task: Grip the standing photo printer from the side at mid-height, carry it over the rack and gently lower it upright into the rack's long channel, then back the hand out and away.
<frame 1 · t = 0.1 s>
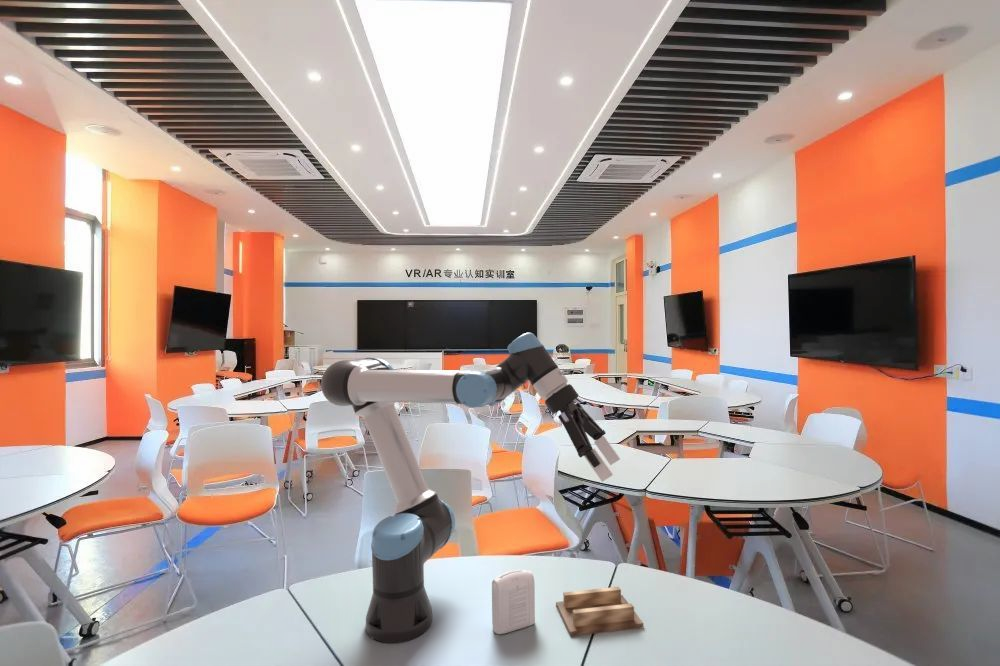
hand: (611, 469, 109), 36 cm above the table, tool tilted 35°, fingers open, 13 cm apart
rack: (597, 616, 114), on the table
photo printer: (514, 627, 111), on the table
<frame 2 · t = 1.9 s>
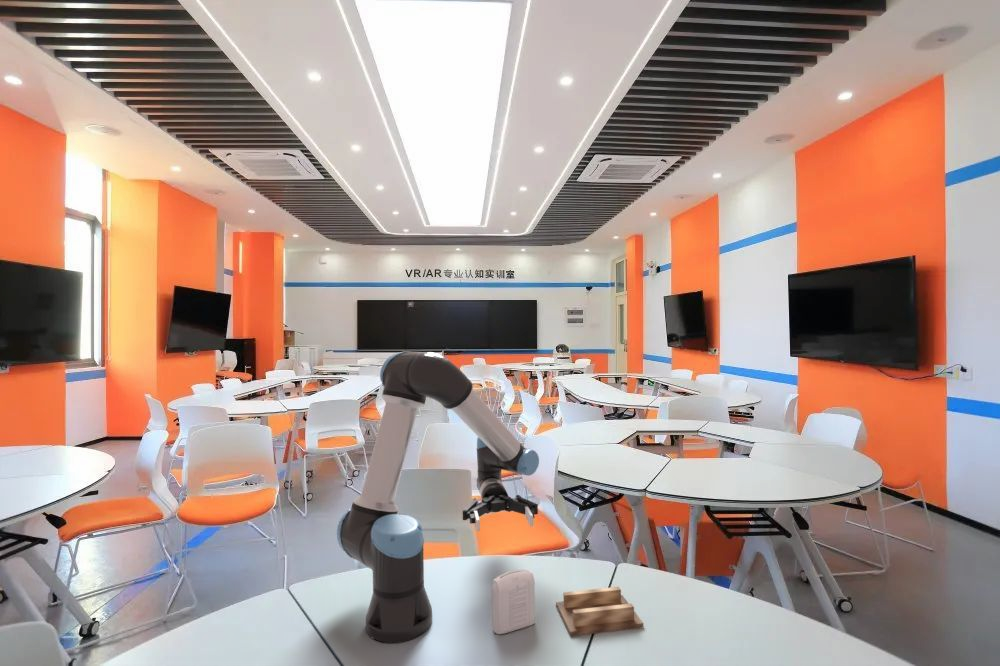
hand: (505, 523, 122), 19 cm above the table, tool horizontal, fingers open, 13 cm apart
nothing on the table moved.
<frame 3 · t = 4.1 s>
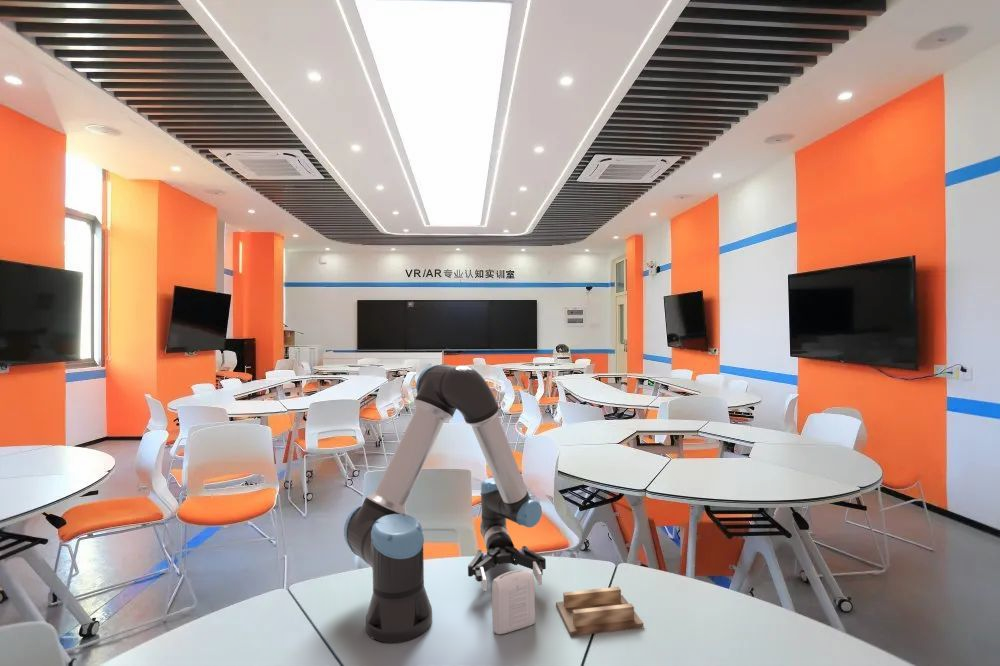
hand: (512, 582, 117), 7 cm above the table, tool horizontal, fingers open, 13 cm apart
nothing on the table moved.
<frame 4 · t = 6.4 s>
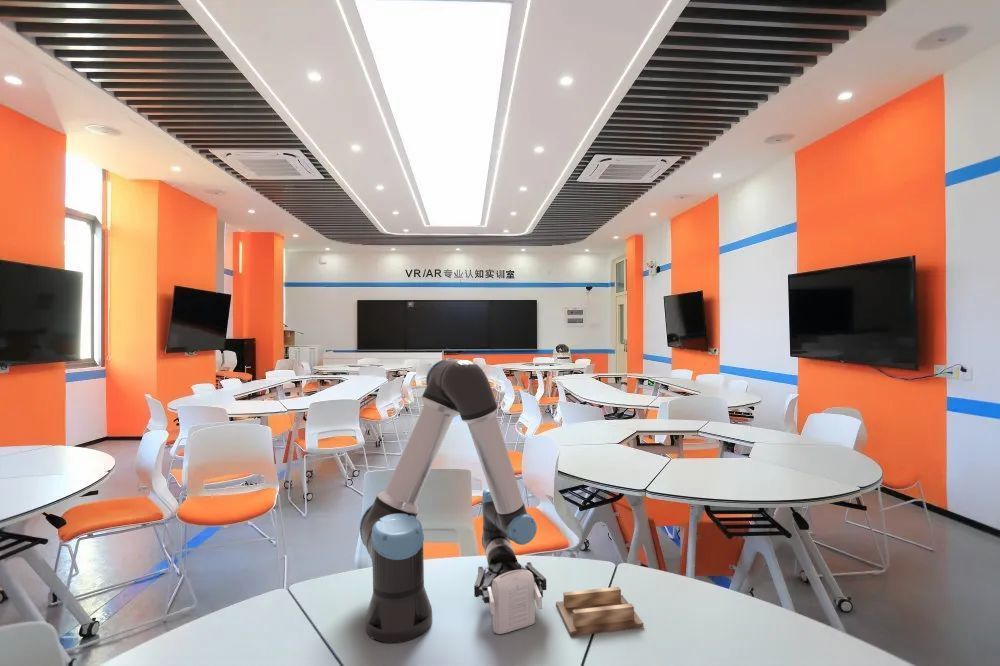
hand: (516, 605, 107), 7 cm above the table, tool horizontal, fingers closed on photo printer, 10 cm apart
photo printer: (513, 626, 111), on the table, touching gripper
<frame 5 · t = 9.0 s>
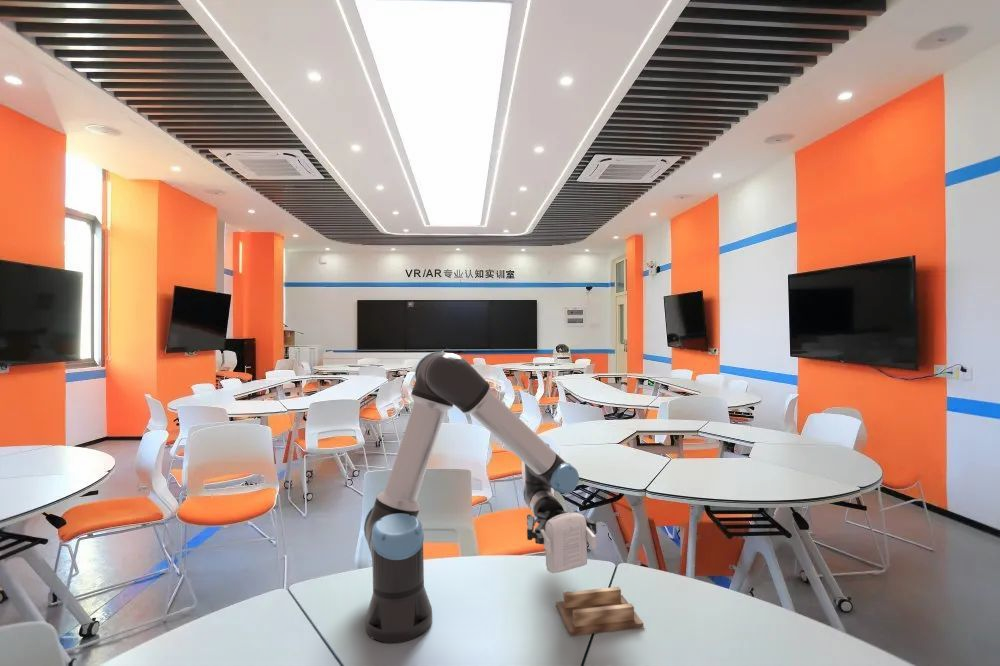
hand: (571, 544, 110), 19 cm above the table, tool horizontal, fingers closed on photo printer, 10 cm apart
photo printer: (566, 567, 114), point 12 cm above the table, touching gripper
when the fingers open (9 cm above the table, at t = 12.1 s): photo printer drops 1 cm, resting on rack.
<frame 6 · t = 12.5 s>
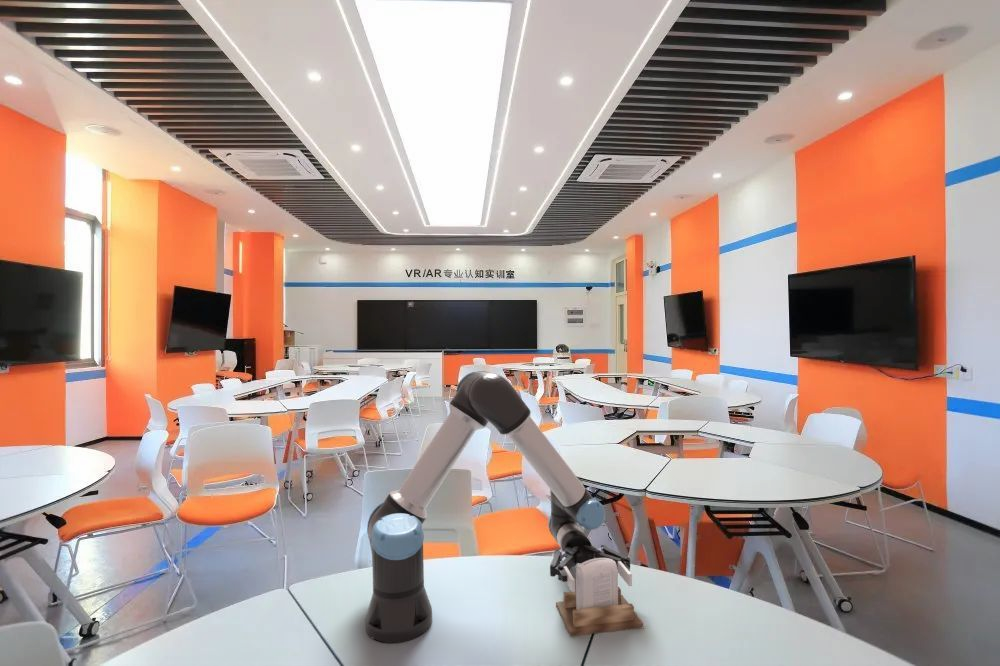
hand: (602, 583, 111), 9 cm above the table, tool horizontal, fingers open, 13 cm apart
photo printer: (597, 612, 114), point 1 cm above the table, touching rack
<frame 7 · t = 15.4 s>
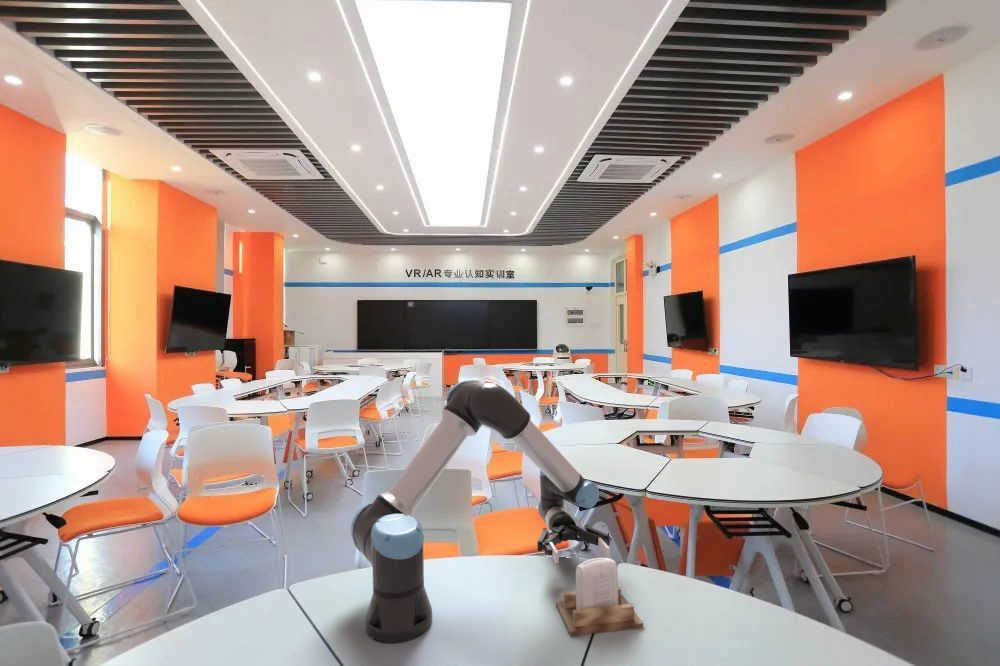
hand: (583, 555, 124), 10 cm above the table, tool horizontal, fingers open, 13 cm apart
nothing on the table moved.
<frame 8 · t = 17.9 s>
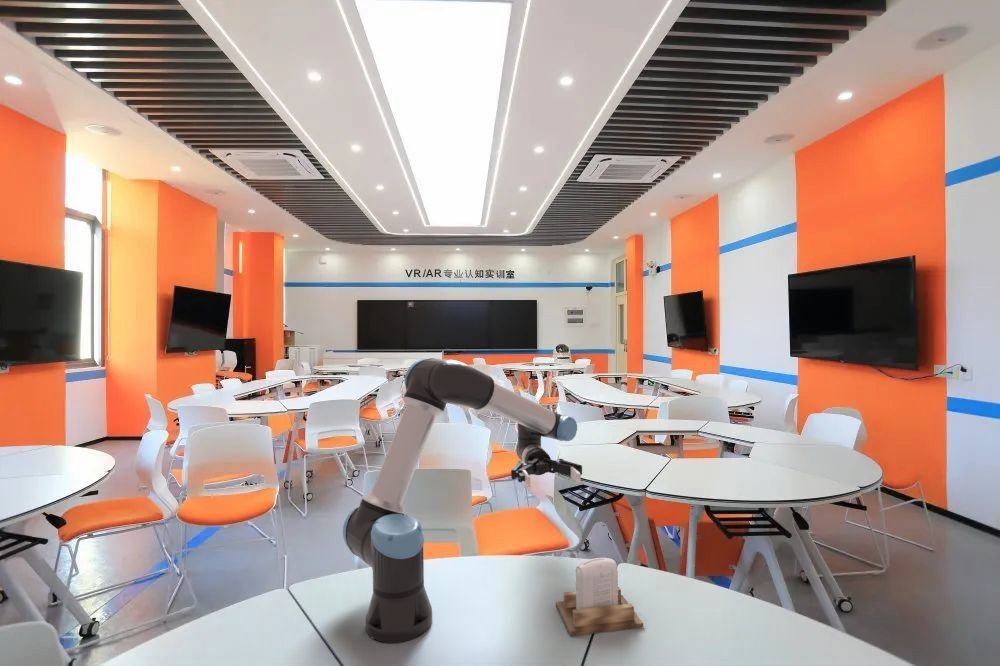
hand: (554, 480, 128), 28 cm above the table, tool horizontal, fingers open, 13 cm apart
nothing on the table moved.
at the end: photo printer 0.1 cm off-centre on the rack, point 0.8 cm above the rack's base; photo printer tilted 0°; the gripper is holding nothing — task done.
